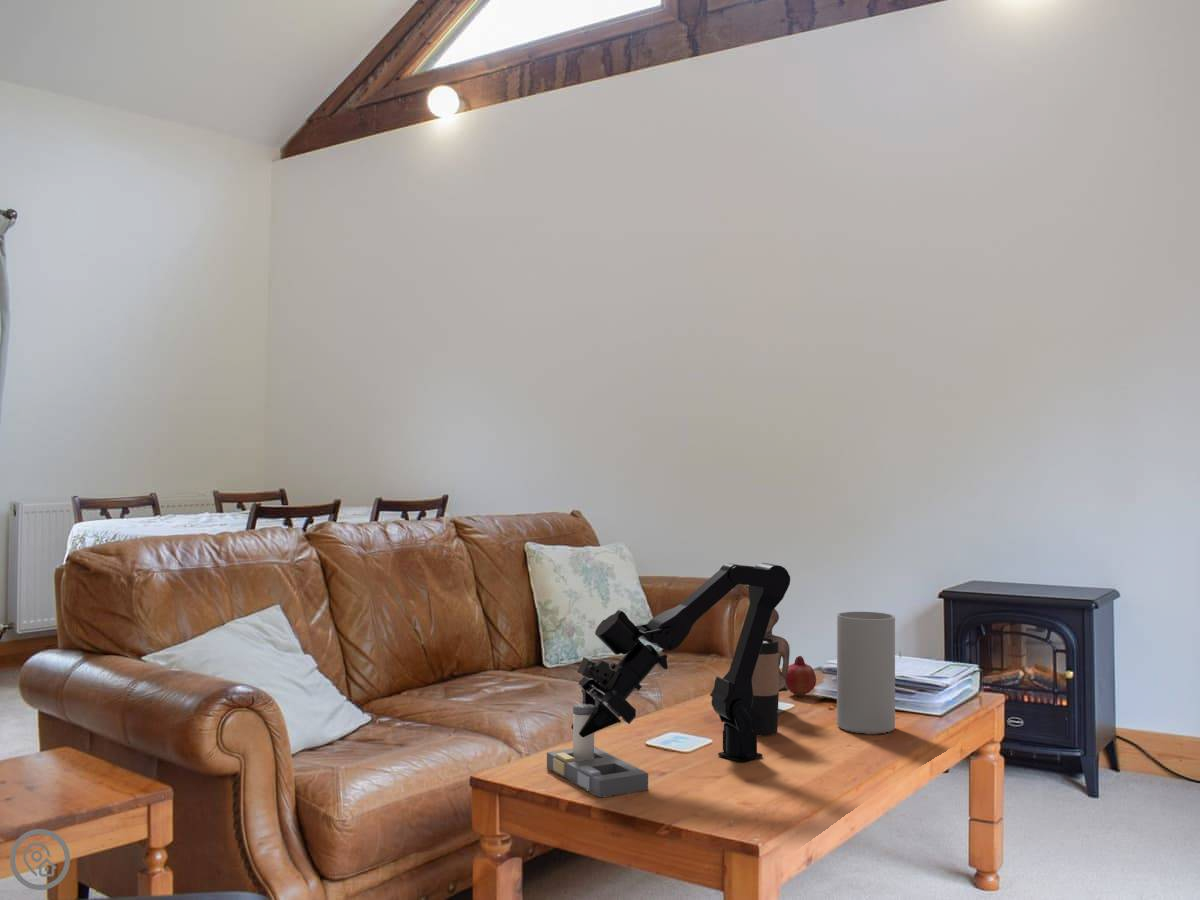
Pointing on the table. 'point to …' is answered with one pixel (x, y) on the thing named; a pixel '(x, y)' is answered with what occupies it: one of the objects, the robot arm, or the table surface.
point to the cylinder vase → (866, 672)
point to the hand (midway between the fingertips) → (576, 732)
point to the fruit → (800, 677)
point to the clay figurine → (779, 650)
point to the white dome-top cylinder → (581, 745)
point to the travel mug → (767, 687)
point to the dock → (598, 772)
